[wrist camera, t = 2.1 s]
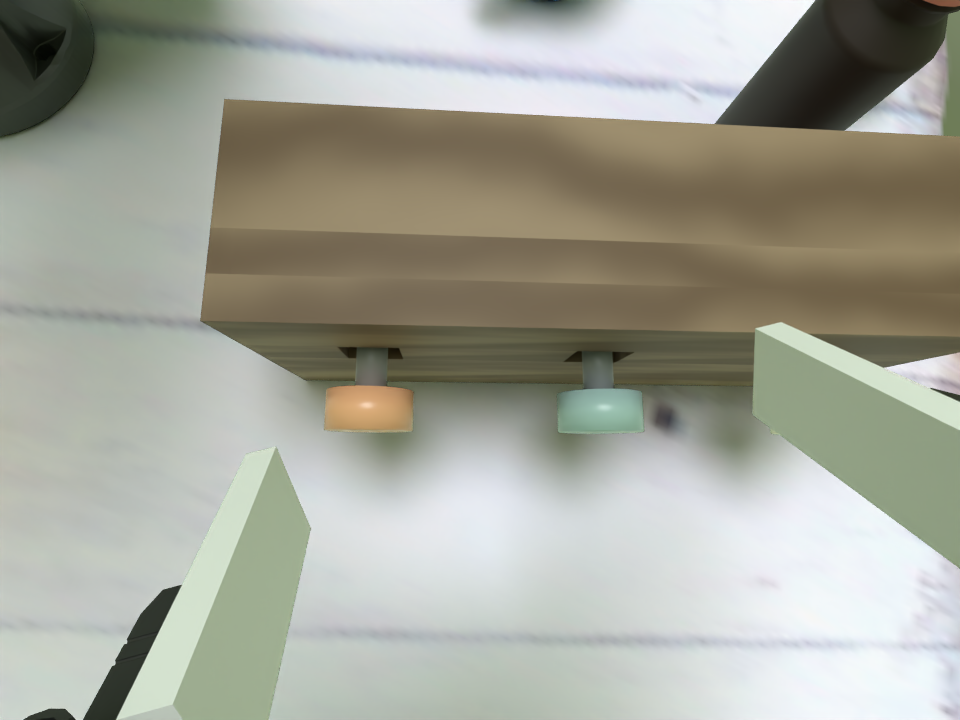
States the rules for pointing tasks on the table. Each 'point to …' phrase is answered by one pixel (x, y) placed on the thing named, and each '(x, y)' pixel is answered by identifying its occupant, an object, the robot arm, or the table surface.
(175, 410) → the table surface
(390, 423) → the terracotta button
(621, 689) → the table surface
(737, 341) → the console
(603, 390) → the teal button
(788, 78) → the bottle
